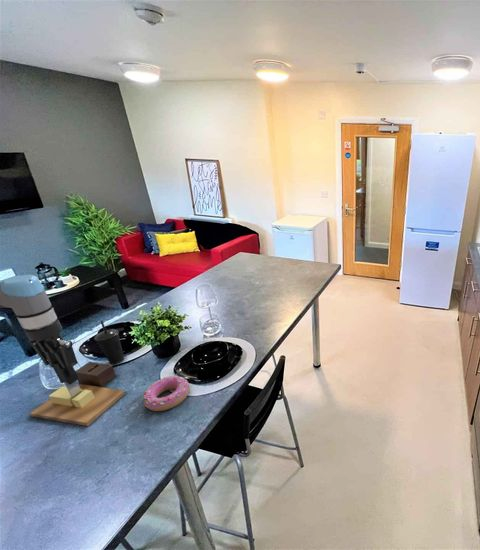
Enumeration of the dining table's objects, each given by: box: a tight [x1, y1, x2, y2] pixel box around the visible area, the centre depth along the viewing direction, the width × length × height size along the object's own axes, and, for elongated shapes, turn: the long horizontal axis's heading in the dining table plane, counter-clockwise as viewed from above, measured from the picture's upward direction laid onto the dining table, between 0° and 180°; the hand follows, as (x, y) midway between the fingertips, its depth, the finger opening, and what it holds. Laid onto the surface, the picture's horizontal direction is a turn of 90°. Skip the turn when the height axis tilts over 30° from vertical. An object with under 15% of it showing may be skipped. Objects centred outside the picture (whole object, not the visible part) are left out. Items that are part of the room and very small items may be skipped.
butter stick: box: [48, 385, 83, 406], centre depth 103 cm, size 8×5×4 cm, turn 82°
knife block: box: [75, 361, 117, 388], centre depth 113 cm, size 10×6×6 cm, turn 82°
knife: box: [53, 361, 82, 399], centre depth 99 cm, size 2×3×18 cm
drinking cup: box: [94, 320, 125, 365], centre depth 120 cm, size 8×8×20 cm
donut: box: [141, 375, 190, 412], centre depth 107 cm, size 14×14×5 cm
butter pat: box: [72, 390, 95, 408], centre depth 102 cm, size 3×5×4 cm, turn 172°
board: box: [29, 383, 126, 427], centre depth 103 cm, size 22×14×2 cm, turn 82°
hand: (70, 380), depth 99 cm, fingers closed on knife, 2 cm apart
